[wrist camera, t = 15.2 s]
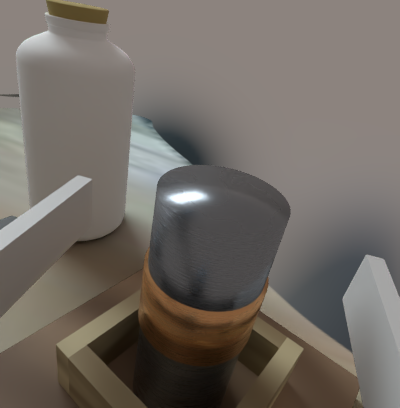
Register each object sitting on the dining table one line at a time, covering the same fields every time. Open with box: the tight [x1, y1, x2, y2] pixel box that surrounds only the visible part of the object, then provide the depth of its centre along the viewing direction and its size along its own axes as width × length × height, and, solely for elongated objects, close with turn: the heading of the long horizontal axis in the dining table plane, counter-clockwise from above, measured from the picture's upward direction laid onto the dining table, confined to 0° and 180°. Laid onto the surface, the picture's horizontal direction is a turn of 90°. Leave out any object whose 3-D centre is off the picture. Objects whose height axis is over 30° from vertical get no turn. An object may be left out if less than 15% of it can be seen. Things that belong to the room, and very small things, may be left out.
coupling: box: [133, 165, 290, 408], centre depth 16 cm, size 5×5×12 cm
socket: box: [0, 269, 360, 408], centre depth 18 cm, size 16×16×4 cm
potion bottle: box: [16, 0, 135, 241], centre depth 28 cm, size 8×8×18 cm
